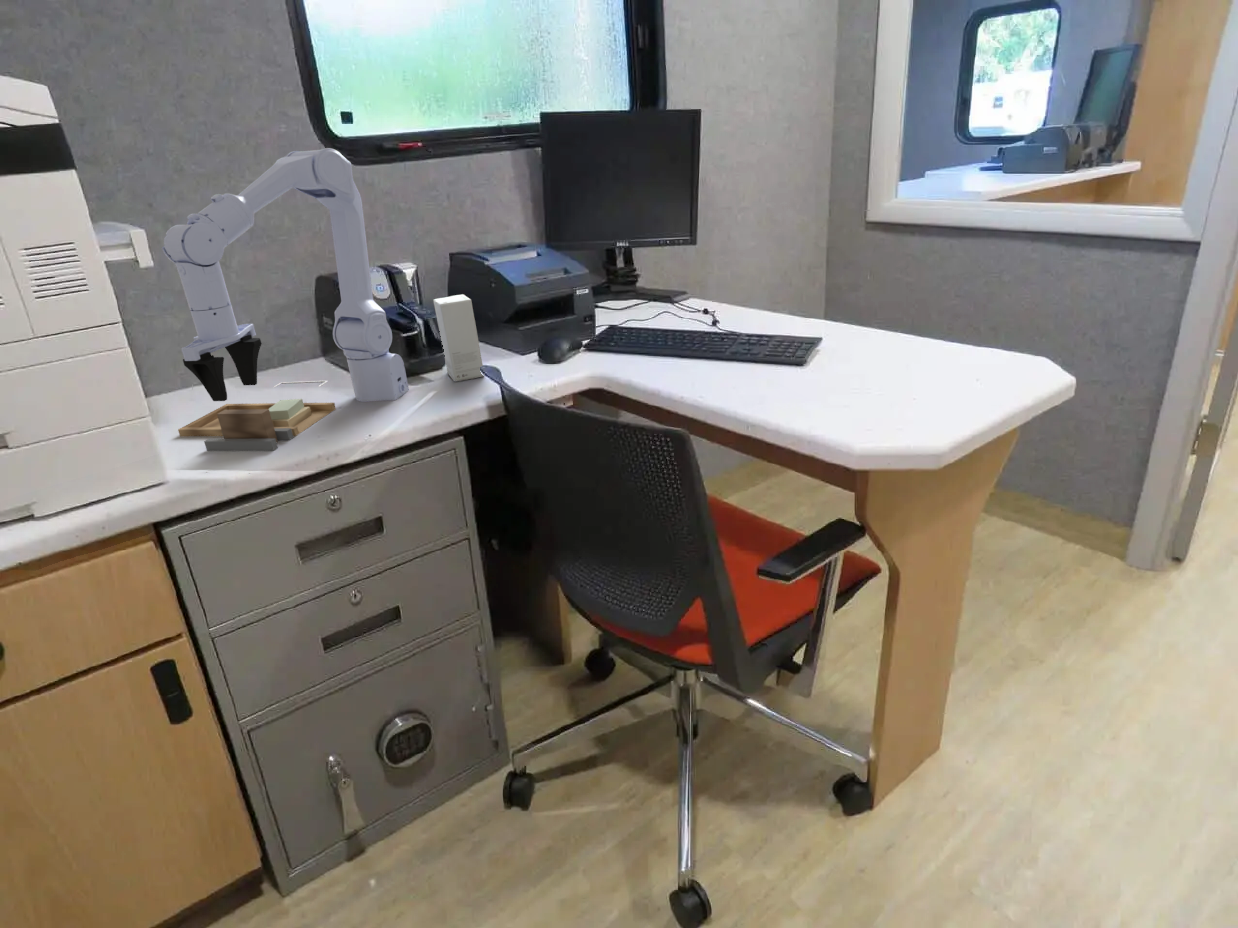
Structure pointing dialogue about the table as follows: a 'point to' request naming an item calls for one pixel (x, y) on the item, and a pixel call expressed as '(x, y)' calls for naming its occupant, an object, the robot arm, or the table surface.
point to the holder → (249, 442)
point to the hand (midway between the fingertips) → (235, 392)
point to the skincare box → (459, 337)
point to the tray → (211, 424)
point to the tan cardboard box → (246, 424)
